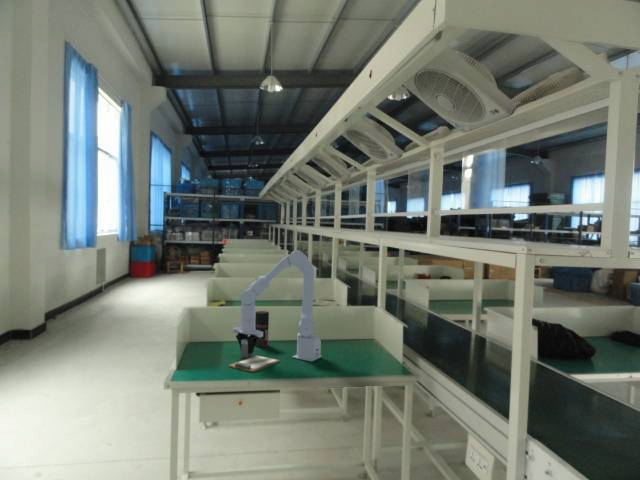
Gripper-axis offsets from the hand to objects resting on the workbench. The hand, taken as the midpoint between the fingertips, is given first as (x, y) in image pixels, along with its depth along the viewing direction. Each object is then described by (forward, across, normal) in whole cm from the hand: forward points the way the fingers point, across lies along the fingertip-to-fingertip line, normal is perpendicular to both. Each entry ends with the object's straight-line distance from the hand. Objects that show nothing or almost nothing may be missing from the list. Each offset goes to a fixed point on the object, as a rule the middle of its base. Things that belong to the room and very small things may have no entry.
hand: (247, 352), depth 167 cm
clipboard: (+2, +9, -6) cm, 11 cm away
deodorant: (+2, -6, +17) cm, 18 cm away
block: (+2, 0, 0) cm, 2 cm away
